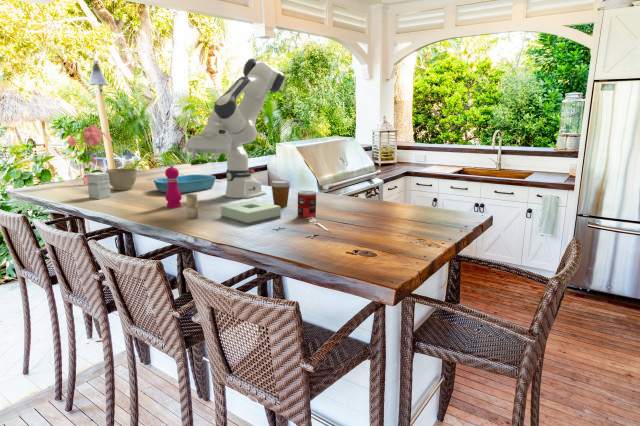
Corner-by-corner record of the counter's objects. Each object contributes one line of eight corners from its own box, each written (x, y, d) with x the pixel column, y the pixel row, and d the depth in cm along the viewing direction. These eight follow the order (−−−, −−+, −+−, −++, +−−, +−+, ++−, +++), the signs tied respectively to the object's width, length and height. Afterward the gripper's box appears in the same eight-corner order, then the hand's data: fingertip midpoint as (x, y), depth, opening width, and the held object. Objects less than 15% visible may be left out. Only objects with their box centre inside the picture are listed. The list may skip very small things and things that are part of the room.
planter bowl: (131, 192, 236) (129, 172, 233) (101, 191, 236) (99, 171, 233) (143, 186, 251) (141, 168, 249) (115, 186, 252) (113, 167, 249)
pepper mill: (177, 208, 199) (174, 165, 194) (162, 207, 200) (160, 164, 196) (184, 205, 206) (182, 163, 201) (171, 204, 207) (168, 163, 202)
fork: (327, 235, 163) (327, 230, 162) (307, 221, 180) (307, 217, 180) (335, 234, 164) (335, 229, 164) (314, 221, 182) (314, 216, 181)
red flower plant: (69, 186, 248) (62, 124, 240) (108, 180, 271) (104, 124, 262) (86, 189, 242) (80, 126, 233) (125, 183, 264) (121, 125, 256)
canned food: (297, 214, 191) (297, 190, 188) (315, 214, 192) (315, 190, 189) (297, 219, 184) (298, 193, 181) (316, 219, 184) (316, 193, 182)
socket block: (253, 210, 197) (253, 200, 196) (280, 217, 186) (280, 206, 184) (221, 217, 184) (220, 206, 183) (247, 225, 172) (247, 213, 171)
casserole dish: (197, 183, 267) (197, 172, 265) (223, 187, 255) (223, 175, 254) (145, 192, 237) (144, 179, 235) (172, 197, 225) (171, 183, 223)
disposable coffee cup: (266, 205, 208) (266, 181, 205) (281, 203, 215) (281, 179, 212) (279, 209, 202) (279, 183, 199) (294, 206, 208) (294, 181, 206)
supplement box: (88, 198, 218) (85, 173, 215) (100, 195, 224) (98, 171, 221) (99, 199, 215) (96, 174, 212) (111, 197, 222) (109, 172, 219)
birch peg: (194, 216, 185) (193, 193, 183) (200, 217, 182) (199, 194, 180) (185, 217, 182) (184, 194, 180) (191, 219, 179) (189, 196, 177)
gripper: (188, 130, 195) (178, 153, 188) (231, 131, 191) (222, 155, 184) (193, 139, 200) (184, 162, 193) (235, 141, 196) (227, 164, 189)
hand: (203, 159), depth 188 cm, fingers open, 8 cm apart
